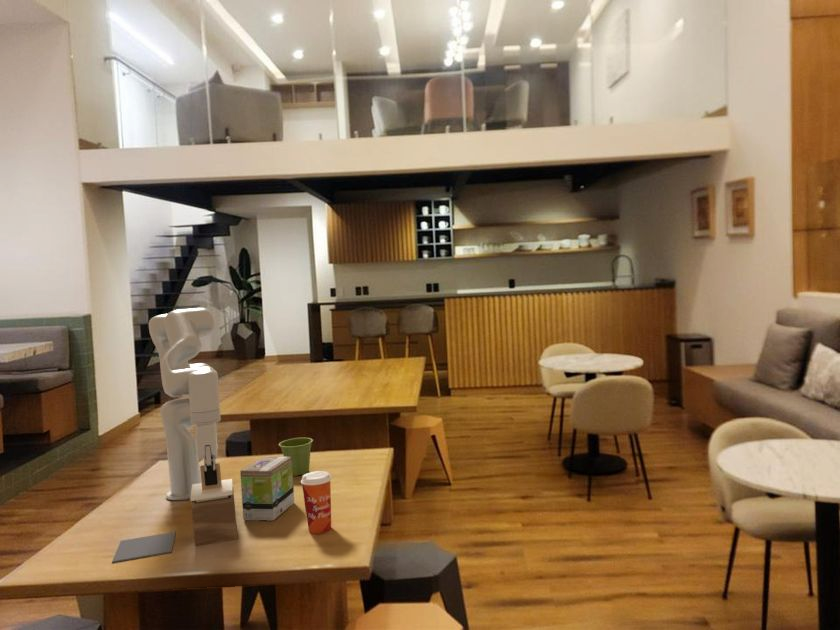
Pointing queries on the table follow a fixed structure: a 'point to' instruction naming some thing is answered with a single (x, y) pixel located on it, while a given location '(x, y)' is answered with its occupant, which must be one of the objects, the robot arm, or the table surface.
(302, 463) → the plant pot
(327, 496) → the coffee cup
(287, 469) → the tea box
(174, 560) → the table surface
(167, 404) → the robot arm
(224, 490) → the lid
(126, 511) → the table surface
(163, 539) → the mat
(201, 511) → the box
